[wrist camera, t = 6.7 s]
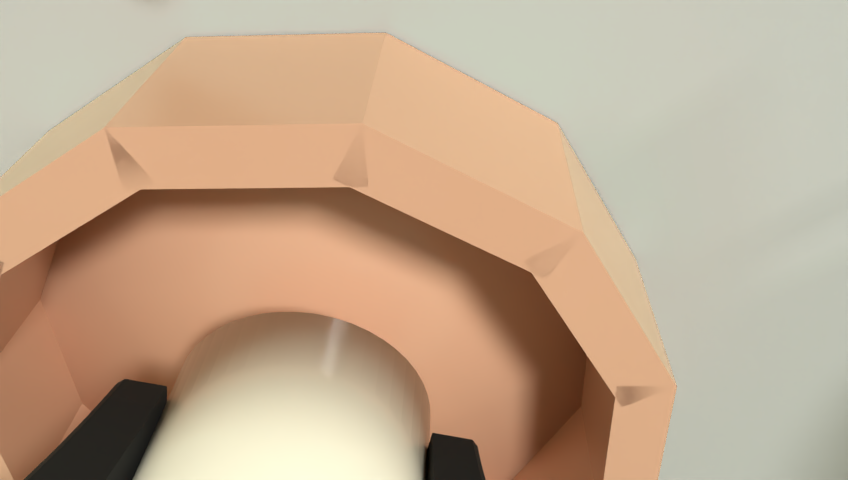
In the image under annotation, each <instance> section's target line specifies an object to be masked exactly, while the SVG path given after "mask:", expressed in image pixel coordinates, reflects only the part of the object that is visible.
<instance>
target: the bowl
mask: <svg viewBox="0 0 848 480" xmlns="http://www.w3.org/2000/svg"><path fill="white" fill-rule="evenodd" d="M272 312H304V313H312V314H319V315H324V316H328V317H333V318H337V319H340V320H343V321H346V322H349V323H352V324H354V325H356V326H359V327H361V328H363V329H366V330H368V331H370V332H371V333H373V334H375V335H376V336H378V337H380V338H382V339H383V340H385V341H386V342H387V343H389V344H390V345H391V346H393V347H394V348H395V349H396V350H398V351H399V352H400V353H401V354H402V355H403V356H404V357H405V358H406V359H407V360H408V361H409V363H410V364H411V365H412V366H413V368H414V369H415V370H416V371H417V373H418V375H419V377H420V378H421V380H422V382H423V384H424V386H425V389H426V391H427V394H428V398H429V403H430V439H431V435H432V433H437V434H443V435H449V436H454V437H460V438H466V439H472V440H473V441H474V442H475V444H476V445H477V446H478V451H479V455H480V460H481V464H482V468H483V472H484V476H485V479H486V480H658V476H659V471H660V466H661V461H662V457H663V452H664V447H665V442H666V437H667V432H668V427H669V422H670V417H671V412H672V408H673V403H674V398H675V393H676V388H677V385H676V382H675V379H674V376H673V373H672V370H671V367H670V364H669V361H668V358H667V354H666V351H665V348H664V345H663V342H662V339H661V336H660V333H659V330H658V327H657V324H656V321H655V317H654V314H653V311H652V308H651V305H650V302H649V299H648V296H647V293H646V290H645V287H644V284H643V280H642V277H641V274H640V271H639V268H638V265H637V262H636V259H635V257H634V255H633V254H632V252H631V250H630V248H629V247H628V245H627V243H626V241H625V240H624V238H623V236H622V234H621V233H620V231H619V229H618V228H617V226H616V224H615V222H614V221H613V219H612V217H611V215H610V214H609V212H608V210H607V208H606V207H605V205H604V203H603V201H602V200H601V198H600V196H599V194H598V193H597V191H596V189H595V188H594V186H593V184H592V182H591V181H590V179H589V177H588V175H587V174H586V172H585V170H584V168H583V167H582V165H581V163H580V161H579V160H578V158H577V156H576V154H575V153H574V151H573V149H572V148H571V146H570V144H569V142H568V141H567V139H566V137H565V135H564V134H563V132H562V130H561V128H560V127H559V125H558V123H556V122H554V121H552V120H550V119H549V118H547V117H545V116H543V115H541V114H539V113H537V112H535V111H533V110H532V109H530V108H528V107H526V106H524V105H522V104H520V103H518V102H516V101H514V100H513V99H511V98H509V97H507V96H505V95H503V94H501V93H499V92H497V91H496V90H494V89H492V88H490V87H488V86H486V85H484V84H482V83H480V82H478V81H477V80H475V79H473V78H471V77H469V76H467V75H465V74H463V73H461V72H459V71H458V70H456V69H454V68H452V67H450V66H448V65H446V64H444V63H442V62H441V61H439V60H437V59H435V58H433V57H431V56H429V55H427V54H425V53H423V52H422V51H420V50H418V49H416V48H414V47H412V46H410V45H408V44H406V43H405V42H403V41H401V40H399V39H397V38H395V37H393V36H391V35H389V34H387V33H346V34H301V35H256V36H211V37H185V38H184V39H182V40H181V41H180V42H178V43H177V44H175V45H174V46H172V47H171V48H169V49H168V50H166V51H165V52H163V53H162V54H161V55H159V56H158V57H156V58H155V59H153V60H152V61H150V62H149V63H147V64H146V65H144V66H143V67H142V68H140V69H139V70H137V71H136V72H134V73H133V74H131V75H130V76H128V77H127V78H125V79H124V80H123V81H121V82H120V83H118V84H117V85H115V86H114V87H112V88H111V89H109V90H108V91H106V92H105V93H103V94H102V95H101V96H99V97H98V98H96V99H95V100H93V101H92V102H90V103H89V104H87V105H86V106H84V107H83V108H82V109H80V110H79V111H77V112H76V113H74V114H73V115H71V116H70V117H68V118H67V119H65V120H64V121H63V122H61V123H60V124H58V125H57V126H55V127H54V128H52V129H51V130H49V131H48V132H47V133H46V134H45V135H44V136H43V137H42V138H41V139H40V140H39V141H38V142H37V143H36V144H35V145H34V146H33V147H31V148H30V149H29V150H28V151H27V152H26V153H25V154H24V155H23V156H22V157H21V158H20V159H19V160H18V161H17V162H16V163H15V164H14V165H13V166H12V167H11V168H10V169H9V170H8V171H7V172H6V173H5V174H4V175H2V176H1V177H0V480H24V479H25V478H26V477H27V476H28V475H29V474H30V473H31V472H32V471H33V470H34V469H35V468H36V467H37V466H38V465H39V464H40V463H41V462H42V461H43V460H45V459H46V458H47V457H48V456H49V455H50V454H51V453H52V452H53V451H54V450H55V449H56V448H57V447H58V446H59V445H60V444H61V443H62V442H63V441H64V440H65V439H66V437H67V436H68V435H69V434H70V433H71V432H72V431H73V430H74V429H75V428H76V427H77V426H78V425H79V424H80V423H81V422H82V421H83V420H84V419H85V418H86V417H87V416H88V415H89V414H90V412H91V411H92V410H93V409H94V408H95V407H96V406H97V405H98V404H99V403H100V402H101V400H102V399H103V398H104V397H105V396H106V395H107V394H108V393H109V392H110V390H111V389H112V388H113V387H114V386H115V385H116V384H117V383H118V382H120V381H122V380H124V379H129V380H135V381H140V382H146V383H152V384H157V385H163V386H167V400H168V398H169V395H170V393H171V391H172V389H173V386H174V384H175V382H176V380H177V377H178V375H179V373H180V371H181V368H182V366H183V364H184V362H185V360H186V358H187V356H188V355H189V354H190V352H191V351H192V350H193V348H194V347H195V346H196V345H197V344H198V343H199V342H200V341H201V340H202V339H203V338H205V337H206V336H207V335H209V334H210V333H212V332H213V331H215V330H216V329H218V328H220V327H222V326H224V325H226V324H228V323H230V322H233V321H235V320H238V319H241V318H244V317H248V316H253V315H258V314H262V313H272ZM430 439H429V442H430Z"/></svg>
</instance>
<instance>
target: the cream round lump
mask: <svg viewBox="0 0 848 480" xmlns="http://www.w3.org/2000/svg"><path fill="white" fill-rule="evenodd" d="M429 439H430V403H429V398H428V394H427V391H426V389H425V386H424V384H423V382H422V380H421V378H420V377H419V375H418V373H417V371H416V370H415V369H414V368H413V366H412V365H411V364H410V363H409V361H408V360H407V359H406V358H405V357H404V356H403V355H402V354H401V353H400V352H399V351H398V350H396V349H395V348H394V347H393V346H391V345H390V344H389V343H387V342H386V341H385V340H383V339H382V338H380V337H378V336H376V335H375V334H373V333H371V332H370V331H368V330H366V329H363V328H361V327H359V326H356V325H354V324H352V323H349V322H346V321H343V320H340V319H337V318H333V317H328V316H324V315H319V314H312V313H304V312H272V313H262V314H258V315H253V316H248V317H244V318H241V319H238V320H235V321H233V322H230V323H228V324H226V325H224V326H222V327H220V328H218V329H216V330H215V331H213V332H212V333H210V334H209V335H207V336H206V337H205V338H203V339H202V340H201V341H200V342H199V343H198V344H197V345H196V346H195V347H194V348H193V350H192V351H191V352H190V354H189V355H188V356H187V358H186V360H185V362H184V364H183V366H182V368H181V371H180V373H179V375H178V377H177V380H176V382H175V384H174V386H173V389H172V391H171V393H170V395H169V398H168V400H167V403H166V405H165V407H164V410H163V412H162V414H161V416H160V419H159V421H158V423H157V426H156V428H155V430H154V432H153V435H152V437H151V439H150V441H149V444H148V446H147V448H146V450H145V453H144V455H143V457H142V459H141V461H140V464H139V466H138V468H137V470H136V472H135V475H134V477H133V479H132V480H426V473H427V453H428V445H429Z"/></svg>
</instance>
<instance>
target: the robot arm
mask: <svg viewBox="0 0 848 480" xmlns="http://www.w3.org/2000/svg"><path fill="white" fill-rule="evenodd" d="M166 403H167V386H163V385H157V384H152V383H146V382H140V381H135V380H129V379H124V380H122V381H120V382H118V383H117V384H116V385H115V386H114V387H113V388H112V389H111V390H110V392H109V393H108V394H107V395H106V396H105V397H104V398H103V399H102V400H101V402H100V403H99V404H98V405H97V406H96V407H95V408H94V409H93V410H92V411H91V412H90V414H89V415H88V416H87V417H86V418H85V419H84V420H83V421H82V422H81V423H80V424H79V425H78V426H77V427H76V428H75V429H74V430H73V431H72V432H71V433H70V434H69V435H68V436H67V437H66V439H65V440H64V441H63V442H62V443H61V444H60V445H59V446H58V447H57V448H56V449H55V450H54V451H53V452H52V453H51V454H50V455H49V456H48V457H47V458H46V459H45V460H43V461H42V462H41V463H40V464H39V465H38V466H37V467H36V468H35V469H34V470H33V471H32V472H31V473H30V474H29V475H28V476H27V477H26V478H25V479H24V480H132V479H133V477H134V475H135V472H136V470H137V468H138V466H139V464H140V461H141V459H142V457H143V455H144V453H145V450H146V448H147V446H148V444H149V441H150V439H151V437H152V435H153V432H154V430H155V428H156V426H157V423H158V421H159V419H160V416H161V414H162V412H163V410H164V407H165V405H166ZM426 480H486V479H485V476H484V472H483V468H482V464H481V460H480V455H479V451H478V446H477V445H476V444H475V442H474V441H473V440H472V439H466V438H460V437H454V436H449V435H443V434H437V433H432V435H431V439H430V442H429V445H428V453H427V473H426Z"/></svg>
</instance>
